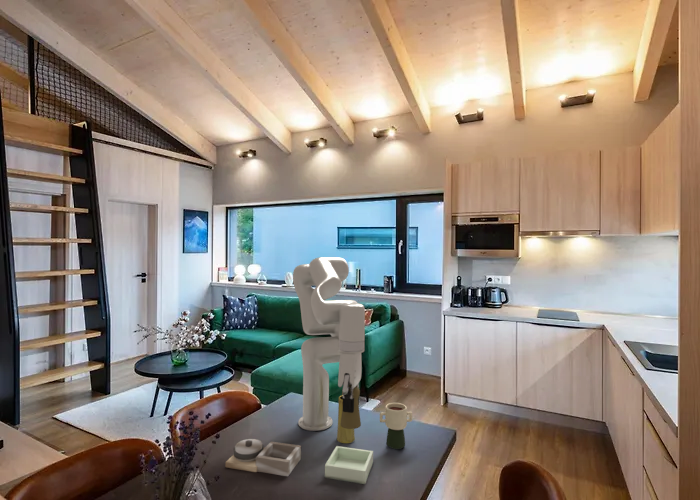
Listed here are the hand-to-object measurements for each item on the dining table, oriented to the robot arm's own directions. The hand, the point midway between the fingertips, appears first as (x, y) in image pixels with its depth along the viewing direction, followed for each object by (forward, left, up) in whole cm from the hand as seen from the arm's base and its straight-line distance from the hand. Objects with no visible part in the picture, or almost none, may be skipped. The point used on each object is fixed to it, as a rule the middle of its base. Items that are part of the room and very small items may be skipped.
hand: (350, 407), depth 116 cm
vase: (-18, -6, -18) cm, 26 cm away
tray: (0, 0, -18) cm, 18 cm away
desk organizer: (+3, -26, -18) cm, 32 cm away
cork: (0, 0, -5) cm, 5 cm away
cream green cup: (-18, +11, -18) cm, 28 cm away
